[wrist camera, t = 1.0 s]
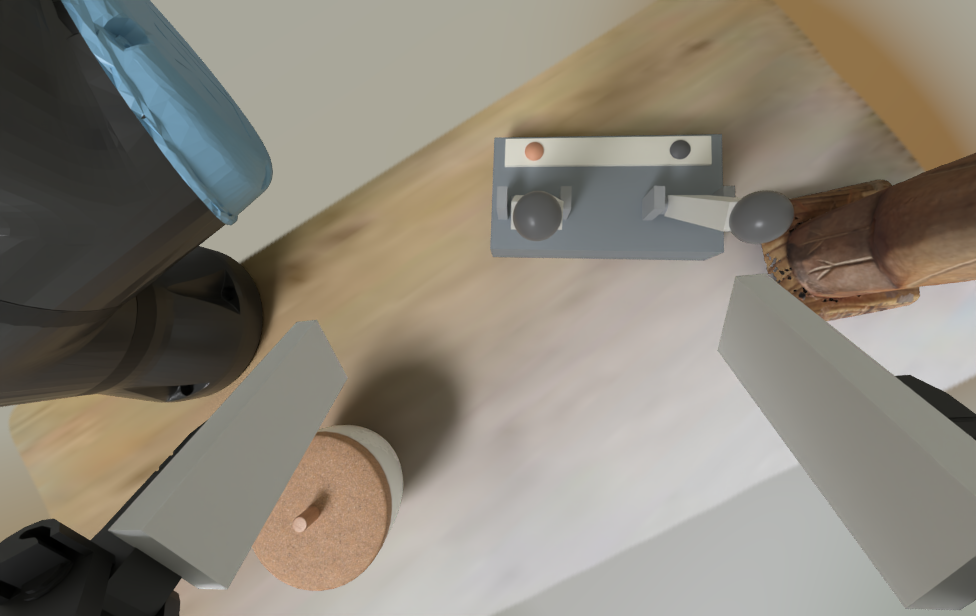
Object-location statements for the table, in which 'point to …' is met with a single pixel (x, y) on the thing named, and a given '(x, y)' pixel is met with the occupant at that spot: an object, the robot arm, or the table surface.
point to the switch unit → (609, 195)
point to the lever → (735, 214)
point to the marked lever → (536, 215)
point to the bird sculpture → (879, 241)
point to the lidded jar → (333, 510)
